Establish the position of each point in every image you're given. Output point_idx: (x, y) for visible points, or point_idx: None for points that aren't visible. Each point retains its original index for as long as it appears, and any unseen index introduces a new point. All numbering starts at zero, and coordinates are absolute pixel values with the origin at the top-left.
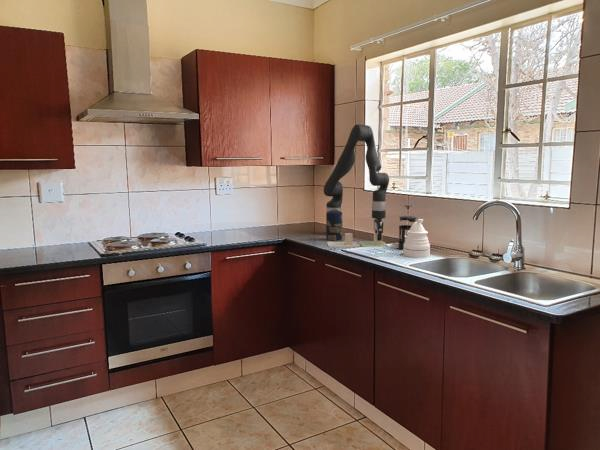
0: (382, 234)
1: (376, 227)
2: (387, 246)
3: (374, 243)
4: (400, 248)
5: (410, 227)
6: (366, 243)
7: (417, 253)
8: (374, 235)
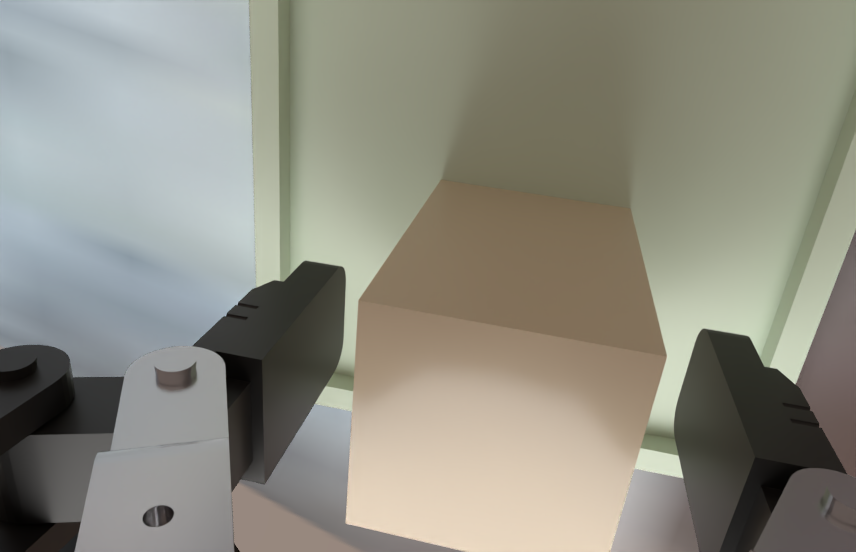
0: (348, 512)
1: (89, 508)
2: None
3: (522, 199)
4: None
5: None
6: (730, 9)
7: None
8: (535, 295)
